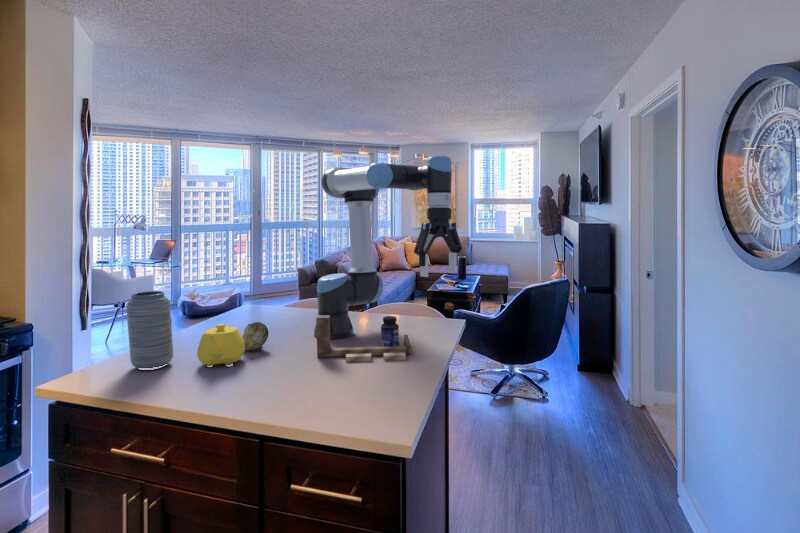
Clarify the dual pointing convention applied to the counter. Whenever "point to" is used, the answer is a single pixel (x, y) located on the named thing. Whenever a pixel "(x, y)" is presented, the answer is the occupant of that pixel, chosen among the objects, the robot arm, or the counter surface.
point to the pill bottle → (389, 332)
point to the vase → (149, 329)
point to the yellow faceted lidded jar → (221, 345)
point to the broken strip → (368, 357)
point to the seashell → (255, 335)
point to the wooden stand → (327, 351)
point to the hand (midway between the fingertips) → (438, 274)
